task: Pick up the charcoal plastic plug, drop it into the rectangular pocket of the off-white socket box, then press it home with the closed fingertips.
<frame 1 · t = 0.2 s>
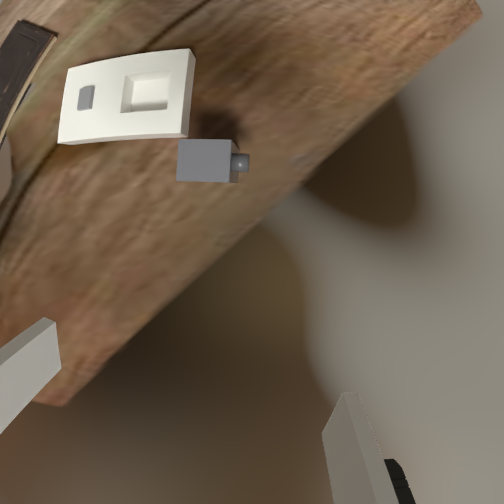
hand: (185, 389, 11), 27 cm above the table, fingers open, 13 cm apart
socket: (127, 100, 34), on the table
hardcover book: (8, 83, 33), on the table
plug: (218, 165, 35), on the table
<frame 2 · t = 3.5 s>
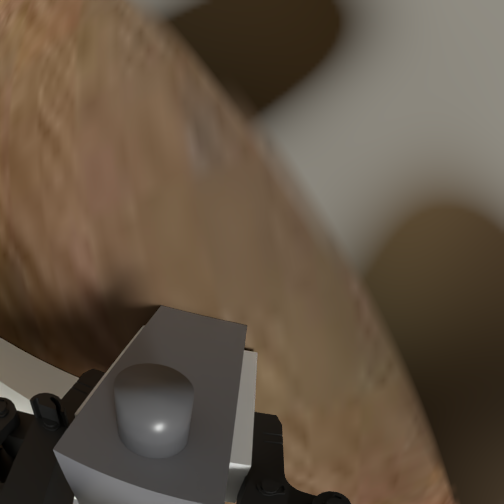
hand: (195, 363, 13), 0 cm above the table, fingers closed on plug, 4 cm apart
socket: (74, 448, 17), on the table
plug: (196, 360, 14), on the table, touching gripper
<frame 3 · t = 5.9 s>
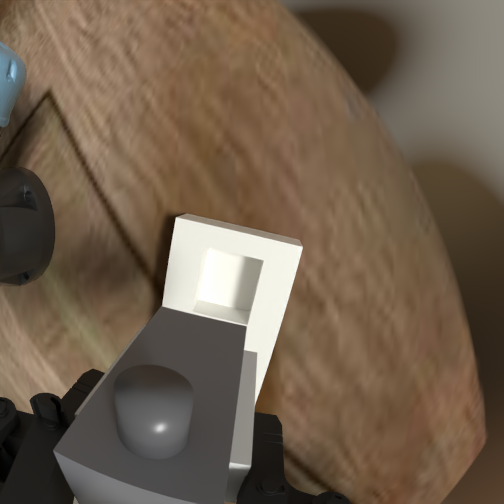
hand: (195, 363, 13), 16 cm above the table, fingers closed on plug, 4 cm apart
socket: (223, 311, 30), on the table
plug: (196, 360, 14), point 16 cm above the table, touching gripper
when the fingers open (5 cm above the table, at t = 8.3 s): plug drops 4 cm, resting on socket.
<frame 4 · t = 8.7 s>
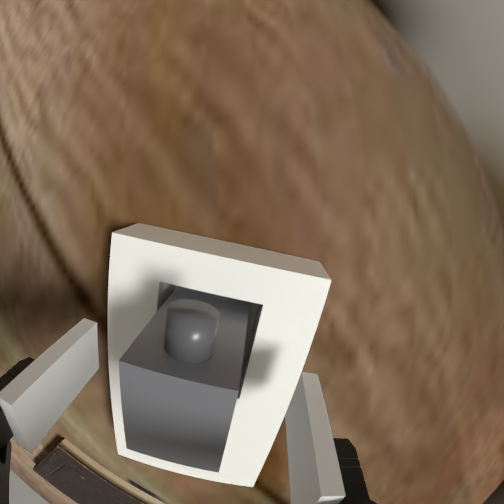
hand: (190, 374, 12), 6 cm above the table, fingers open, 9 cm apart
socket: (203, 368, 19), on the table
hardcover book: (119, 497, 27), on the table
plug: (211, 322, 18), point 1 cm above the table, touching socket
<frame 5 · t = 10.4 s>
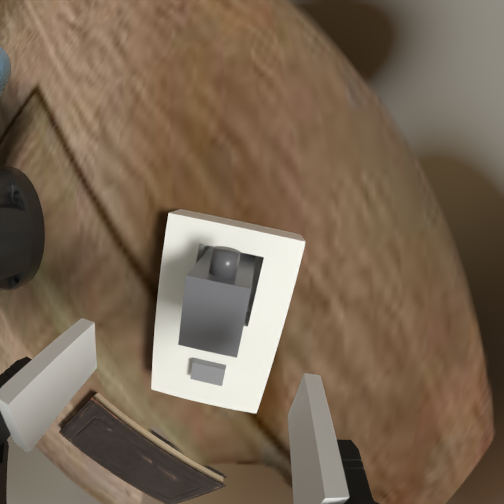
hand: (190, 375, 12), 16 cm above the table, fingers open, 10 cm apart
socket: (221, 312, 29), on the table
hardcover book: (138, 453, 36), on the table
plug: (228, 276, 27), resting on socket
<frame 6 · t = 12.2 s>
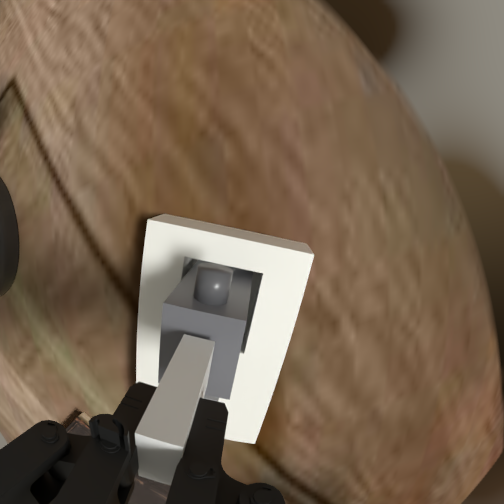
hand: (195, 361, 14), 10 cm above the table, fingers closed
socket: (214, 333, 24), on the table
hardcover book: (130, 473, 32), on the table
plug: (221, 292, 23), resting on socket
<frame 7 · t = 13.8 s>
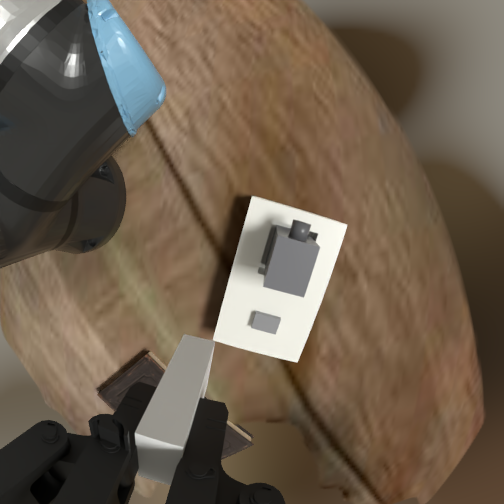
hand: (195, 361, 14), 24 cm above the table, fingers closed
socket: (276, 278, 37), on the table
hardcover book: (174, 415, 44), on the table
plug: (286, 248, 36), resting on socket
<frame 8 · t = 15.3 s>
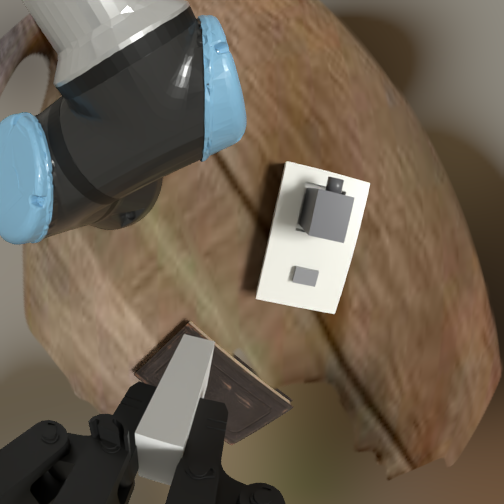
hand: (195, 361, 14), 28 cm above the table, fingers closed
socket: (309, 236, 41), on the table
hardcover book: (213, 386, 48), on the table
plug: (317, 209, 39), resting on socket
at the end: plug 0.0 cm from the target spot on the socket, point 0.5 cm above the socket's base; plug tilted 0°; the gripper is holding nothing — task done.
